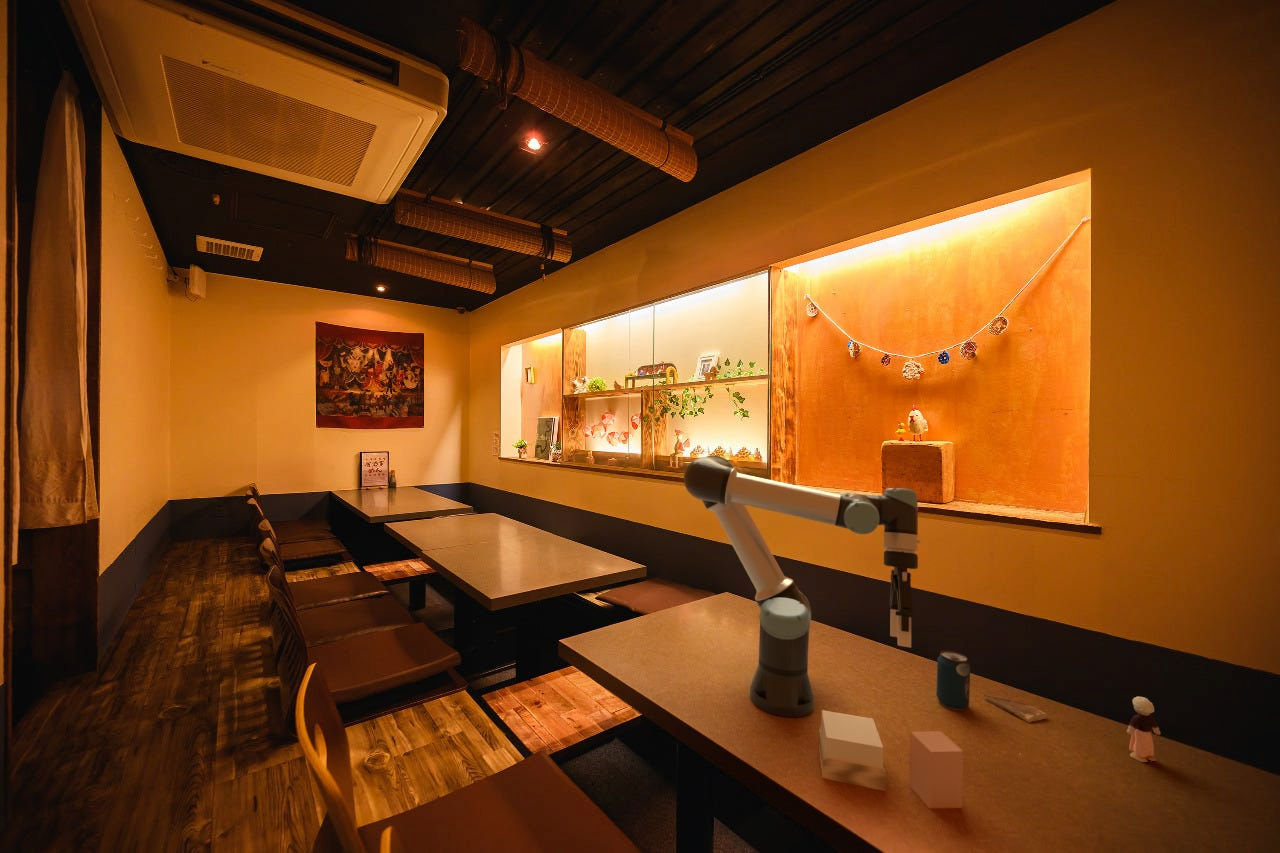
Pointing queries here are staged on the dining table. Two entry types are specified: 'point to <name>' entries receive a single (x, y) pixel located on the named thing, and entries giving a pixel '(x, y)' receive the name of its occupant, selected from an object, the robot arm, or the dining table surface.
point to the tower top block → (851, 739)
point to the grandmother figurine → (1142, 730)
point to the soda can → (953, 680)
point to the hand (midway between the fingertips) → (900, 641)
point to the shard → (1018, 709)
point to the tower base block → (851, 771)
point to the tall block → (936, 769)
